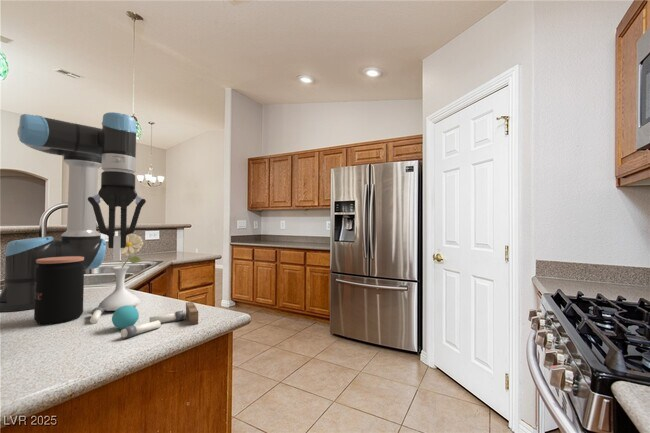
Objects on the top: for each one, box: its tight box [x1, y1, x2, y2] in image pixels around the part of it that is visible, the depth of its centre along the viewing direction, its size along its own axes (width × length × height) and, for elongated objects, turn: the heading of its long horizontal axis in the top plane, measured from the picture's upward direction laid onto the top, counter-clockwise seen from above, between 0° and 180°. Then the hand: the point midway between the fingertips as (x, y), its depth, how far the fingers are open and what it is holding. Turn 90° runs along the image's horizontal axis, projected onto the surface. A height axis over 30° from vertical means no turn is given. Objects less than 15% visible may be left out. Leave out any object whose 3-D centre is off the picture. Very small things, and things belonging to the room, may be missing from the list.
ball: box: [111, 305, 140, 330], centre depth 80 cm, size 6×6×6 cm
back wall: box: [185, 301, 199, 326], centre depth 88 cm, size 12×2×4 cm, turn 31°
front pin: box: [149, 310, 186, 323], centre depth 85 cm, size 3×3×9 cm
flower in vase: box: [97, 233, 144, 312], centre depth 98 cm, size 13×11×25 cm
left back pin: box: [89, 306, 105, 325], centre depth 87 cm, size 3×3×9 cm
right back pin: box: [120, 320, 162, 339], centre depth 76 cm, size 3×3×9 cm
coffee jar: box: [33, 256, 85, 326], centre depth 87 cm, size 11×11×18 cm
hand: (117, 260), depth 79 cm, fingers closed
